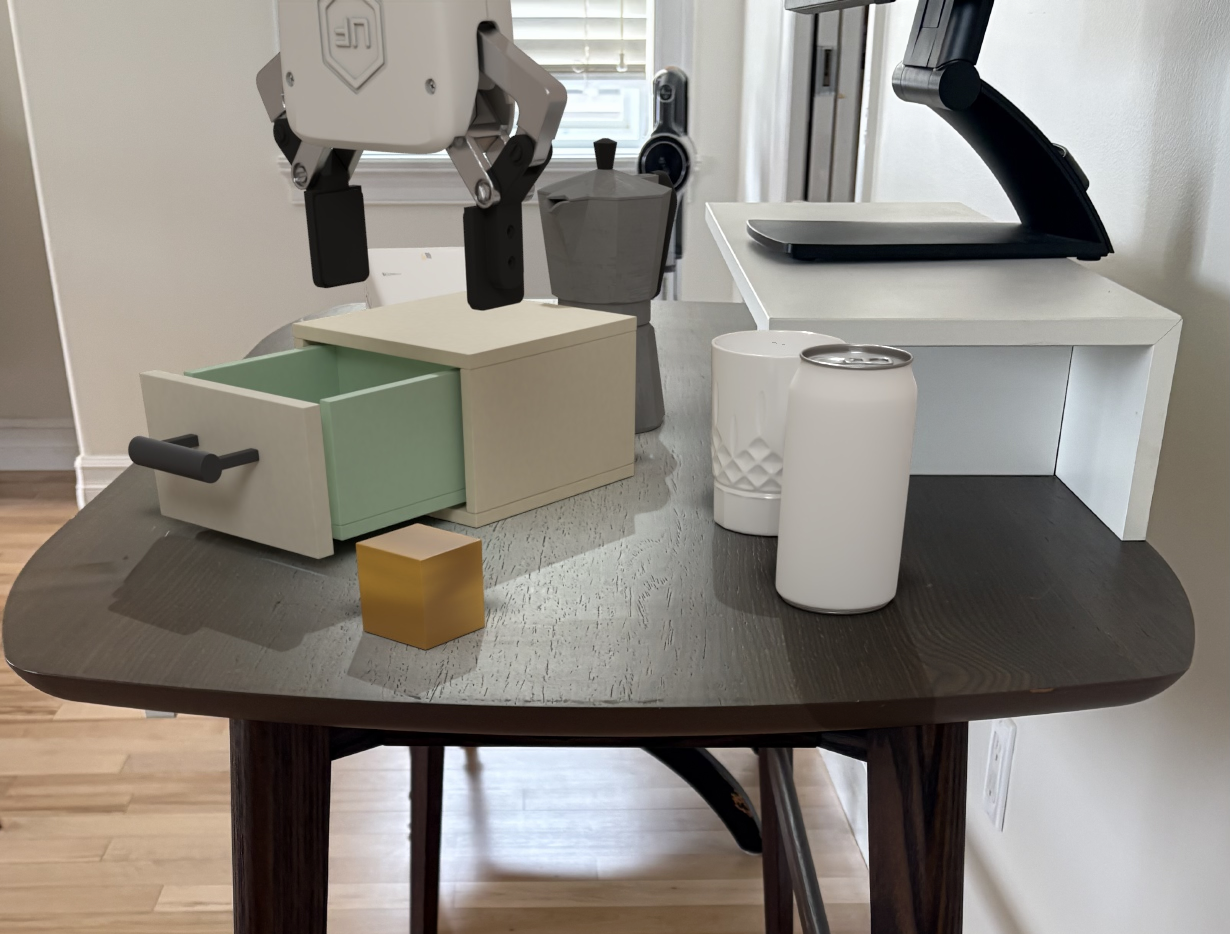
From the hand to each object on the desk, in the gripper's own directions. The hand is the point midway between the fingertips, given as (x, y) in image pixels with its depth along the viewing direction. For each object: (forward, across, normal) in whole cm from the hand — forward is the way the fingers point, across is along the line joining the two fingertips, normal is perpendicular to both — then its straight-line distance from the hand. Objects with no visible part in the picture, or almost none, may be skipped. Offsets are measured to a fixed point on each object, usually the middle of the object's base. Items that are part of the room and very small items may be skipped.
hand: (416, 294), depth 73 cm
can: (+16, +14, +16) cm, 26 cm away
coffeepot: (+15, -20, +41) cm, 48 cm away
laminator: (+15, -44, +50) cm, 68 cm away
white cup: (+16, +4, +26) cm, 30 cm away
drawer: (+14, -16, +6) cm, 23 cm away
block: (+15, 0, -2) cm, 15 cm away
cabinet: (+15, -16, +21) cm, 31 cm away
